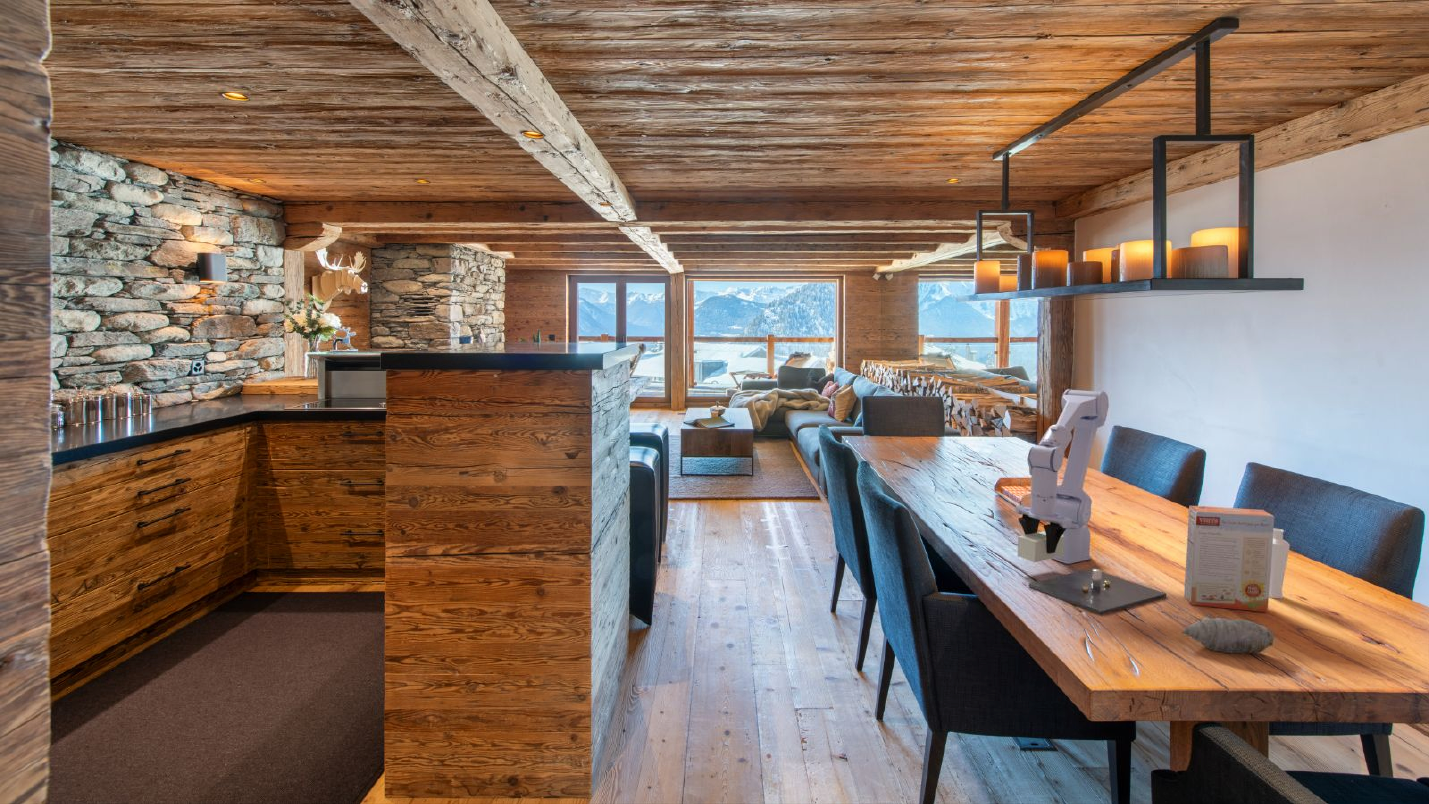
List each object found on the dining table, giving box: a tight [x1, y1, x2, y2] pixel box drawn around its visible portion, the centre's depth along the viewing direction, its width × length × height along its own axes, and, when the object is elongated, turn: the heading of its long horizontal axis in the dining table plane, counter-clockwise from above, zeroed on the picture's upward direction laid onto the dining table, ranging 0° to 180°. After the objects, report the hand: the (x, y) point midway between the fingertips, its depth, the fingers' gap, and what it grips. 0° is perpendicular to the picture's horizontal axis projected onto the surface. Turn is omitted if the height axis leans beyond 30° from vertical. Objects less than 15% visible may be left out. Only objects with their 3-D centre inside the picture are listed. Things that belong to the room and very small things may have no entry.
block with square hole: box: [1017, 530, 1064, 563], centre depth 173 cm, size 10×5×5 cm, turn 116°
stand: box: [1028, 568, 1167, 616], centre depth 160 cm, size 22×18×5 cm
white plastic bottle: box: [1269, 527, 1291, 599], centre depth 157 cm, size 5×4×15 cm
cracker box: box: [1183, 505, 1275, 613], centre depth 152 cm, size 14×6×21 cm, turn 71°
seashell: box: [1181, 617, 1275, 654], centre depth 131 cm, size 6×14×8 cm, turn 75°
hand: (1041, 549), depth 173 cm, fingers closed on block with square hole, 5 cm apart
